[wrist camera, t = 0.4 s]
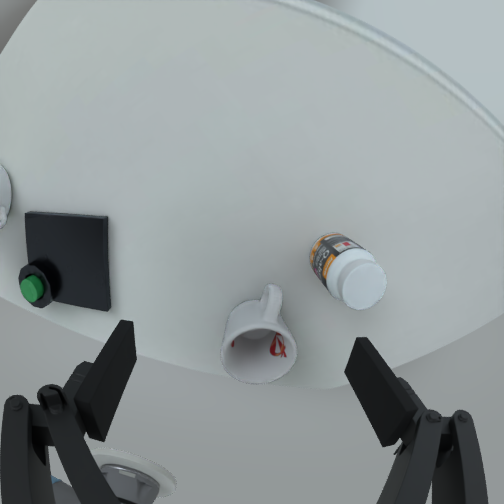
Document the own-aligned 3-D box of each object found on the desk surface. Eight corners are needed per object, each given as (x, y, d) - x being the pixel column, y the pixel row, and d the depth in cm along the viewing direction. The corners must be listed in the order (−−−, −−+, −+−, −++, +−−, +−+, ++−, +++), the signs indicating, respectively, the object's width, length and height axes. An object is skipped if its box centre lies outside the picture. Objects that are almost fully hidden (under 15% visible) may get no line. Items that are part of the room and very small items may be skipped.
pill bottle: (304, 238, 33) (332, 267, 23) (348, 226, 33) (389, 249, 23) (312, 282, 35) (340, 322, 25) (355, 269, 35) (392, 304, 25)
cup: (237, 262, 33) (239, 290, 26) (301, 278, 34) (320, 309, 27) (215, 338, 36) (212, 378, 28) (273, 350, 37) (282, 389, 29)
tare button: (45, 298, 30) (38, 304, 28) (29, 294, 30) (22, 300, 28) (42, 276, 29) (35, 281, 28) (25, 273, 29) (18, 277, 27)
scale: (111, 310, 34) (103, 322, 31) (33, 295, 33) (22, 303, 30) (108, 216, 31) (97, 221, 28) (25, 211, 29) (12, 215, 26)
